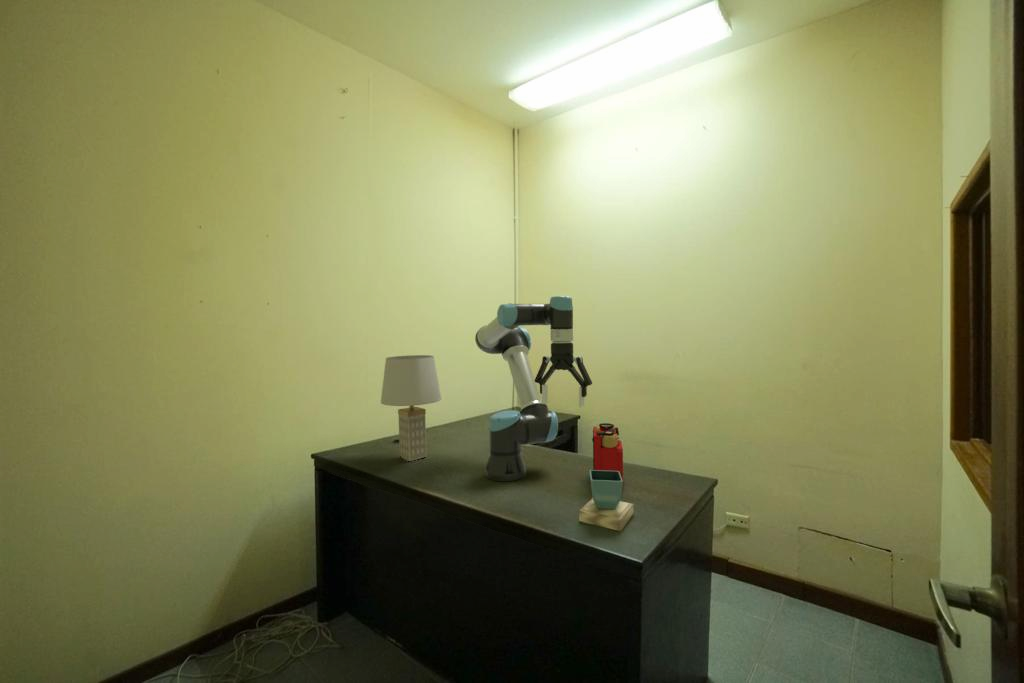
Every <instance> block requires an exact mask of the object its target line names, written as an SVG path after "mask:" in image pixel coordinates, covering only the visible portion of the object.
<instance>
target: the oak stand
mask: <svg viewBox="0 0 1024 683" xmlns="http://www.w3.org/2000/svg"><path fill="white" fill-rule="evenodd" d="M634 510H635V508H634V503H630V502H625V501H621V500H620V502H619V504H618V506H617V507H616V509H600V508H597V507H596V505H595V503H594V500H593V497H592V498H591V499H590V500H589V501H587V503H586V504H585V505H584V506H582V508H580V509H579V511H578V517H579V518H578V521H579V522H582V523H586V524H590V525H592V526H593V525H594V526H597V527H602V528H606V529H611V530H614V531H619V532H622V531H623V529H624V527H626V524H628V522H629V521H630V519H631V518H632V517H633V515H634V512H635V511H634Z"/></svg>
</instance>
